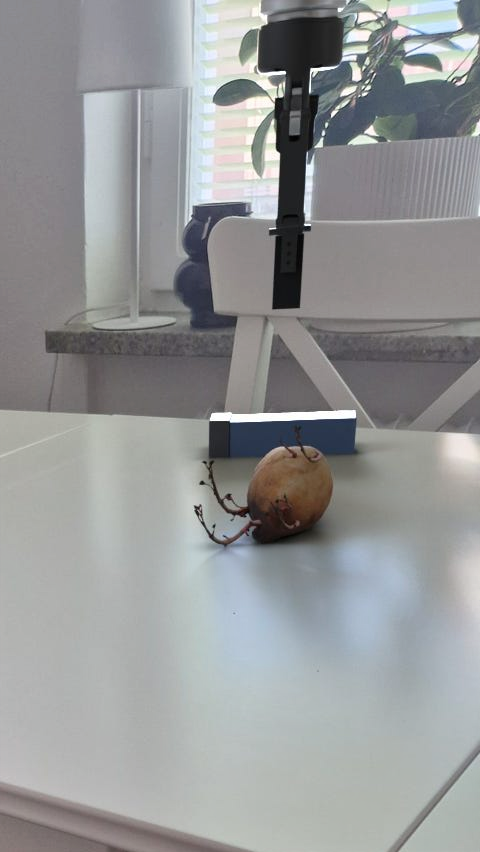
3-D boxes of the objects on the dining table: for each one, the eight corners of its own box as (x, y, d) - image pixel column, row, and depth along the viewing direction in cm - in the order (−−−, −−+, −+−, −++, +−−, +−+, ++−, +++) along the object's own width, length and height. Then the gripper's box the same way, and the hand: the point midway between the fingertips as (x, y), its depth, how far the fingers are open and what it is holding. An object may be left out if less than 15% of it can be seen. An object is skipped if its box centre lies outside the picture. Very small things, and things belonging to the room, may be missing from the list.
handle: (352, 448, 116) (355, 408, 114) (353, 456, 113) (357, 415, 111) (211, 452, 120) (212, 413, 118) (208, 460, 116) (209, 420, 114)
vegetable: (181, 465, 102) (239, 356, 96) (290, 521, 103) (354, 416, 98) (172, 525, 89) (238, 404, 84) (297, 588, 90) (371, 472, 85)
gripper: (261, 28, 110) (250, 302, 122) (255, 17, 99) (244, 318, 111) (343, 20, 108) (324, 298, 120) (346, 7, 98) (325, 314, 110)
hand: (286, 307), depth 116 cm, fingers closed
